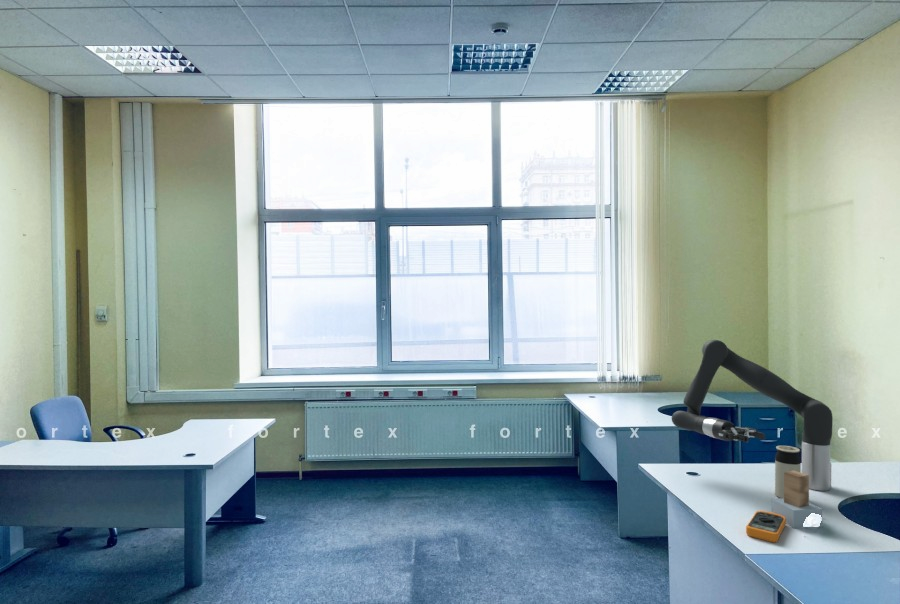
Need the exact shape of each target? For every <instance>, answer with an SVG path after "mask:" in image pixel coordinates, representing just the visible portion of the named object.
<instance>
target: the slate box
mask: <svg viewBox="0 0 900 604" xmlns="http://www.w3.org/2000/svg"><path fill="white" fill-rule="evenodd" d="M823 511H824V509H823V508H821V507H819V506H817V505H816V504H813V503H811V502H809V505H808V506H804V507H800V508H798V507H795V506H793V505H790V504H787V503H784V498H780V497H778V498H772V499H771V513H776V514H779V515H782V516H784V517H785V518H786V525H787V526H789V527H791V528H792V529H803V528H802V527H803V523H804V521H805V519H806V517H808V516H809V515H810V514H811V513H815V514H819V515H821V517H822V518H823ZM819 528H823V520H822V521H821V523H820V527H819Z"/></svg>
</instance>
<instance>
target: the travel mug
mask: <svg viewBox="0 0 900 604" xmlns="http://www.w3.org/2000/svg"><path fill="white" fill-rule="evenodd" d="M775 448H776V451H777V452H776V454H775V456H774V460H775V461H774V465H775V466H774V495H775V496H776V497H778V498H784V472H789V471H793V470H794V471H798V472H801V473H802V457H800V455H799V454H800V452H801V449H800V448H798V447H794V446H791V445H777V446H775Z"/></svg>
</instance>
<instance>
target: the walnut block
mask: <svg viewBox="0 0 900 604" xmlns="http://www.w3.org/2000/svg"><path fill="white" fill-rule="evenodd" d="M784 503H787V504H790V505H793V506H795V507H798V508H800V507H804V506H808V505H809V503H810V489H809V475H808V474H804V473H802V471H801V472H798V471H794V470H793V471H789V472H784Z"/></svg>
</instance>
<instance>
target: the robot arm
mask: <svg viewBox="0 0 900 604" xmlns="http://www.w3.org/2000/svg"><path fill="white" fill-rule="evenodd" d="M701 351H702V359H701V364H700V366H699V368H698V370H697V372H696V374H695V376H694V378H693V379H692V381H691V383H690V385H689V387H688V390H687V392H686V394H685V397H684V399H683V404H684V405H685V407H687V410H686V411H684V410H677V411H675V412H673V413H672V415H671V422H672V424H673V425H674V426H675V427H676V428H679V429H683V430H685V431H689V432H690V431H694V432H696V433H698V434H701V435H704V436H705V435H706V436H709V437H710V438H714V439H718V440H721V441H725V442H729V441H730V442H733V441H736V442H737V441H739V442H742V443H749V442H750V441H749V438H754V439H755V438H756V439H759V440H763V441H764V440H766V434H765V433H764V432H760V431H759V429H756V428H751V427H747V426H742V427H741V426H735V425H734V423H733V422H731V421H728V420H725V419H720V418H717V417H708V416H705V415H701V412H702V410H701V409H702V406H703V403H704V401H705V398H706V396H707V394H708V391H709V389H710V387H711V384H712V381H713V379H714V377H715V375H716V374H717V371H718V370H719V368H720V367H721V368H724V369H726V370H727V371H729V372H731V373H732V374H734V376H736V377H738V378H739V379H740V380H741V381H742V382H743V383H745V384H746V385H748V386H749V387H751V388H752V389H754V390H755V391H757V392H759V393H761V394H762V395H764V396H766V397H768V398H770V399H771V400H775V401H777V402H779V403H781V404H784V405H785V406H787V407H789V408H790V409H791V410H793V411H794V412H796V413H797V414H798V416H800V417H802V419H803V430H802V434H801V473H804V474H808V475H809V490H815V491H822V492H823V491H824V492H825V491H830V490H831V488H832V462H831V440H832V437H833V413H832V410H831V409H830V407H829V406H827V405H826V404H825V403H824V402H822V401H820V400H817V399H815V398H814V397H811V396H809V395H807V394H805V393H803V392H801V391H800V390H797V389H796V388H794V387H793V386H792V385H791V384H789V383H788V382H787V381H786V380H784V379H783V378H781V377H780V376H778V375H777V374H776V373H774V372H772V371H771V370H769V369H767V368H765V367H763V366H761V364H757V363H756V362H753V361H751V360H749V359H746V358H744V357H742V356H741V355H739V354H737V353H736V352H734V351H733V350H731V349H730V348H729V347H728V346H727V345H726V343H725V342H723V341H722V340H718V339H711V340H708V341H706V342H705V343H704V344H703V346H702V348H701Z"/></svg>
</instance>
